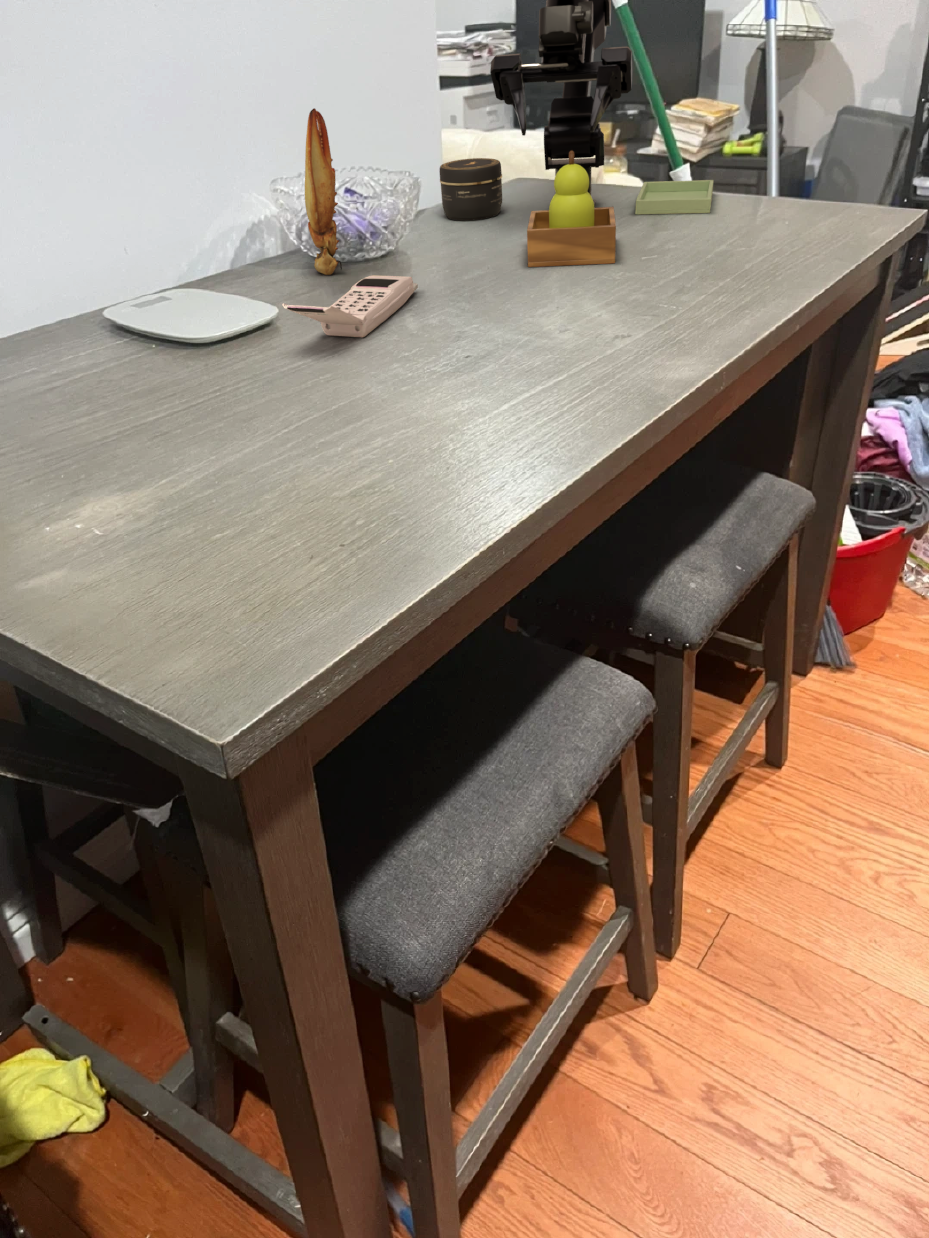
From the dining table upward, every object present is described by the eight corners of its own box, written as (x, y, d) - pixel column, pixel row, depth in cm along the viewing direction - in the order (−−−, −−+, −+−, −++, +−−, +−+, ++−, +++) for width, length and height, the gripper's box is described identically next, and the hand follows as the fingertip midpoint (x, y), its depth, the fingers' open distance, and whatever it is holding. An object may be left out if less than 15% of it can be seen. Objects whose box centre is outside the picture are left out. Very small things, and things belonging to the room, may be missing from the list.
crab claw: (333, 283, 120) (307, 112, 109) (299, 282, 122) (270, 114, 110) (355, 269, 125) (333, 104, 114) (322, 268, 127) (297, 106, 115)
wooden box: (531, 245, 129) (531, 211, 126) (612, 241, 128) (613, 206, 125) (527, 267, 120) (526, 230, 117) (615, 263, 118) (615, 226, 116)
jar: (506, 206, 151) (504, 156, 147) (500, 220, 143) (497, 167, 139) (448, 209, 153) (444, 159, 148) (438, 223, 145) (433, 171, 140)
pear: (553, 244, 127) (552, 147, 119) (596, 243, 125) (597, 145, 118) (546, 255, 122) (544, 155, 115) (590, 255, 120) (591, 154, 113)
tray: (643, 195, 151) (643, 182, 150) (712, 193, 148) (713, 180, 147) (635, 214, 140) (635, 200, 139) (709, 213, 137) (710, 199, 136)
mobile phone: (278, 305, 93) (374, 241, 112) (288, 361, 97) (379, 290, 116) (330, 307, 91) (419, 243, 110) (339, 364, 95) (423, 292, 114)
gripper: (488, -17, 117) (478, 95, 116) (634, -29, 114) (626, 86, 112) (501, 46, 128) (492, 149, 126) (635, 37, 124) (628, 143, 123)
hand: (557, 132), depth 122 cm, fingers open, 9 cm apart
